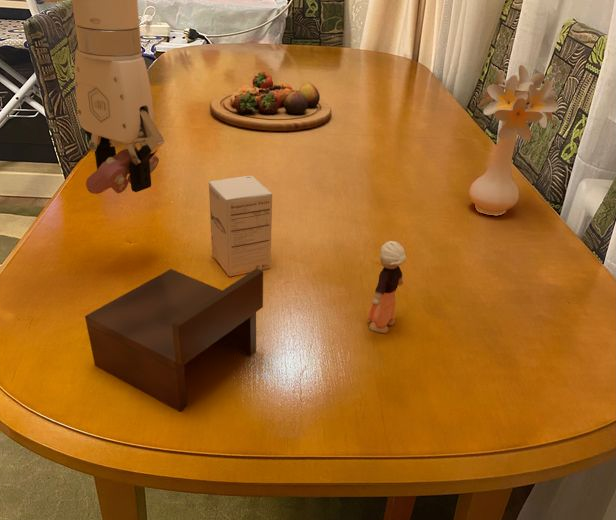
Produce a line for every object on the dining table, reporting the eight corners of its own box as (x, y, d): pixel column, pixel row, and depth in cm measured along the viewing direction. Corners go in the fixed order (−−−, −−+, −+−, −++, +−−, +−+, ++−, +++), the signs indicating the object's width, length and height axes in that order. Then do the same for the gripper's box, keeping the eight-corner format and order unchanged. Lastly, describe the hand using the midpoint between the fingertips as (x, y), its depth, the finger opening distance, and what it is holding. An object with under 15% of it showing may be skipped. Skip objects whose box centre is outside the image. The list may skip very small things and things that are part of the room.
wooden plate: (220, 93, 173) (219, 62, 168) (331, 101, 173) (333, 70, 168) (199, 128, 147) (197, 92, 142) (330, 136, 147) (333, 101, 142)
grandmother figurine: (374, 309, 87) (386, 228, 79) (400, 315, 86) (415, 234, 78) (358, 337, 81) (369, 253, 73) (386, 344, 80) (400, 260, 72)
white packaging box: (210, 256, 97) (207, 180, 89) (253, 248, 100) (253, 173, 92) (227, 278, 92) (225, 199, 84) (272, 269, 94) (273, 191, 87)
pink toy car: (104, 210, 83) (115, 171, 78) (81, 188, 83) (91, 148, 79) (154, 190, 90) (168, 153, 85) (133, 169, 90) (145, 132, 86)
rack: (94, 365, 74) (76, 278, 66) (175, 314, 83) (167, 233, 76) (187, 415, 67) (178, 326, 60) (262, 354, 77) (263, 270, 70)
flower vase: (464, 230, 109) (498, 83, 94) (452, 190, 124) (480, 58, 109) (537, 236, 109) (582, 89, 94) (516, 195, 124) (552, 63, 109)
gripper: (38, 33, 76) (62, 174, 86) (136, 58, 69) (149, 207, 79) (86, 28, 81) (103, 161, 92) (182, 50, 74) (188, 192, 85)
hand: (124, 181), depth 85 cm, fingers closed on pink toy car, 5 cm apart
